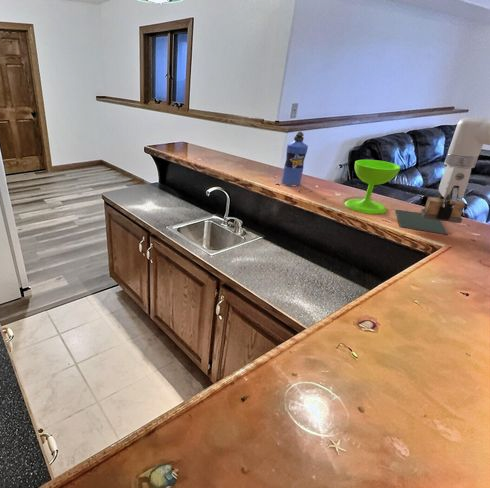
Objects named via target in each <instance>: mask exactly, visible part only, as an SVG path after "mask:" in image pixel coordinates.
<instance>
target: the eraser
mask: <svg viewBox="0 0 490 488" xmlns="http://www.w3.org/2000/svg"><path fill="white" fill-rule="evenodd" d="M443 200H444V199H443V198H438V197H434V196H433V197H432V196H428V197H427V200H426V203H425V206H424V208H421V211H420V213H421V215H422V217H423V218H424V219H432V220H440V221H441V222H448V223H456V224H462V221H463V218H462V214H463V211H464V208H465V206H466V204H465V203H464V201H463V200H462V199H461V200H459V199H457V201H456V202H455V204H454V208H453V210H452V213H451V216H450V218H449V220H444V219H438V218H437V215H438V212H439V209H440V207H441V206H442V204H443ZM447 201H449V200H447ZM447 201H446V202H447Z"/></svg>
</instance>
